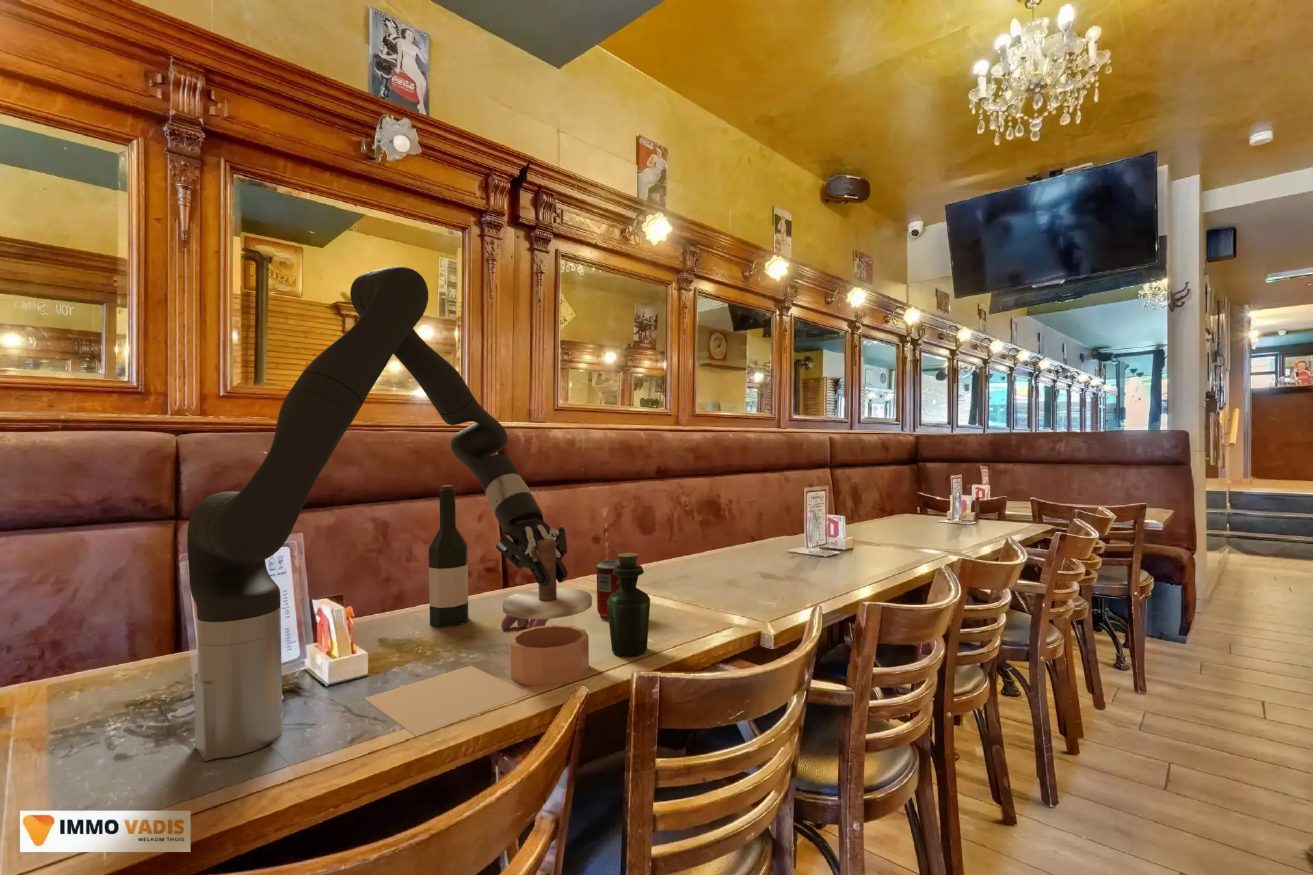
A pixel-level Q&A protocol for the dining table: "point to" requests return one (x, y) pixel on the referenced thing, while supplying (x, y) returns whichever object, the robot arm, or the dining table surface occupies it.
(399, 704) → the cork mat
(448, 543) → the wine bottle
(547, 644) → the bowl
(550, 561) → the lid
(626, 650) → the potion bottle
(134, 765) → the dining table surface
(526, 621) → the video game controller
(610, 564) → the soda can
